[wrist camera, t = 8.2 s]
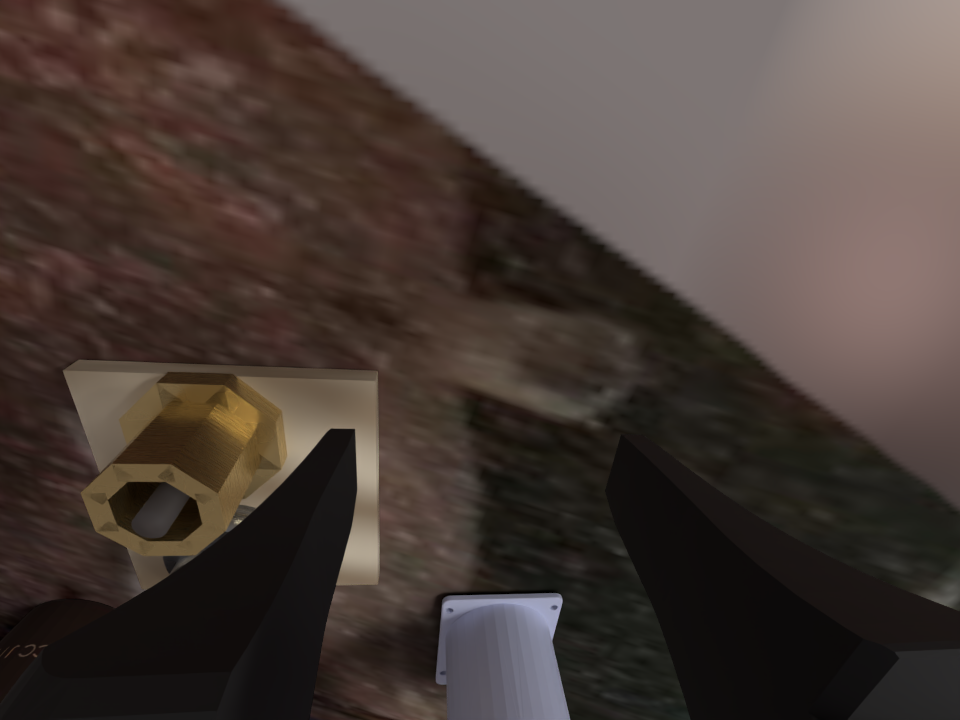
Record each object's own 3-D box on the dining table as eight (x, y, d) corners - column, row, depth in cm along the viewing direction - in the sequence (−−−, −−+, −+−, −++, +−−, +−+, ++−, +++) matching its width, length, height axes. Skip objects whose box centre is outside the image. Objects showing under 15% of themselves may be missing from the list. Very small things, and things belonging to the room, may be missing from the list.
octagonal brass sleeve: (291, 485, 23) (257, 570, 19) (155, 484, 22) (86, 572, 18) (277, 375, 20) (234, 445, 16) (121, 370, 20) (29, 441, 15)
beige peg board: (379, 569, 28) (366, 684, 22) (151, 573, 26) (73, 698, 21) (377, 370, 22) (358, 458, 16) (78, 359, 20) (-63, 453, 14)
